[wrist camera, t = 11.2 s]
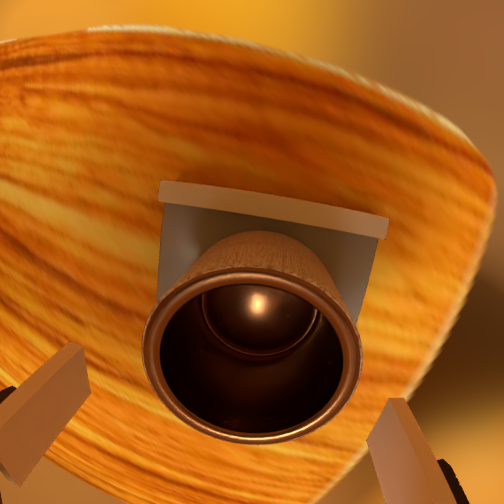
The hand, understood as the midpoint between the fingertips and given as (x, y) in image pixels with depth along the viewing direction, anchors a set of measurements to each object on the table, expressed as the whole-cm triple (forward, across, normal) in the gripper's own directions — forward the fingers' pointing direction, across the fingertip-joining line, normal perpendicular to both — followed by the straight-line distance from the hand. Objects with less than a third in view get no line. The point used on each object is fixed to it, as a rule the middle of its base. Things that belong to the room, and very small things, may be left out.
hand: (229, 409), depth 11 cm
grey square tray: (+14, +1, 0) cm, 14 cm away
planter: (+12, +1, 0) cm, 12 cm away
